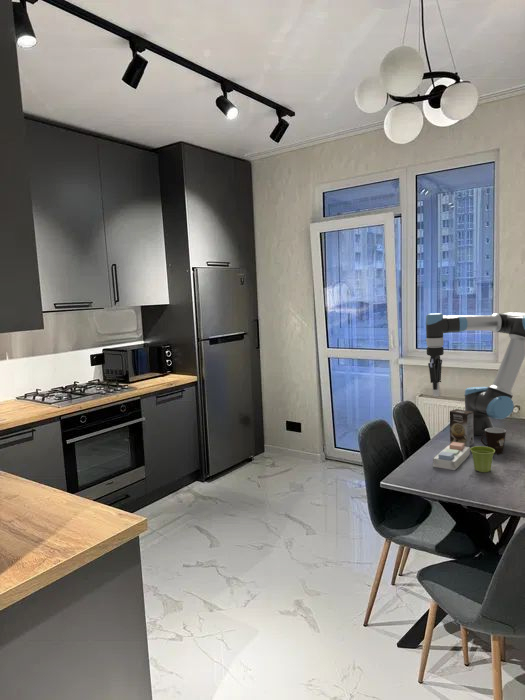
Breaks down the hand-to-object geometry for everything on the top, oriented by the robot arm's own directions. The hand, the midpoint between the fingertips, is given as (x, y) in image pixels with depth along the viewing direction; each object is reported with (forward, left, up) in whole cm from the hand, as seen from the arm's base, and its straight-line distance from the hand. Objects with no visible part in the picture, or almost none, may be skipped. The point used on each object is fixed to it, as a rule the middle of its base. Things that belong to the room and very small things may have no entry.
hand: (436, 396), depth 240 cm
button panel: (+17, +12, -24) cm, 32 cm away
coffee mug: (-2, +24, -25) cm, 34 cm away
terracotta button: (+10, +12, -22) cm, 27 cm away
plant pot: (+23, +26, -25) cm, 43 cm away
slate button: (+24, +12, -22) cm, 35 cm away
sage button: (+17, +12, -23) cm, 31 cm away
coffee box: (-8, +9, -25) cm, 27 cm away
